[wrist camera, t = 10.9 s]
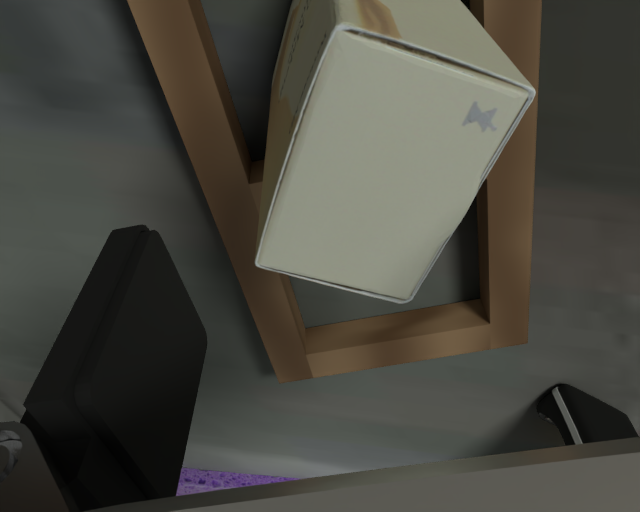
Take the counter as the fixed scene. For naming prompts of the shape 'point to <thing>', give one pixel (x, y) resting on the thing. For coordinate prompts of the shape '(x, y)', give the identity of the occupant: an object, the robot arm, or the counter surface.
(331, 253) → the skincare box
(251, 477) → the sponges
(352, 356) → the rack
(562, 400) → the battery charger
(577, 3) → the counter surface
